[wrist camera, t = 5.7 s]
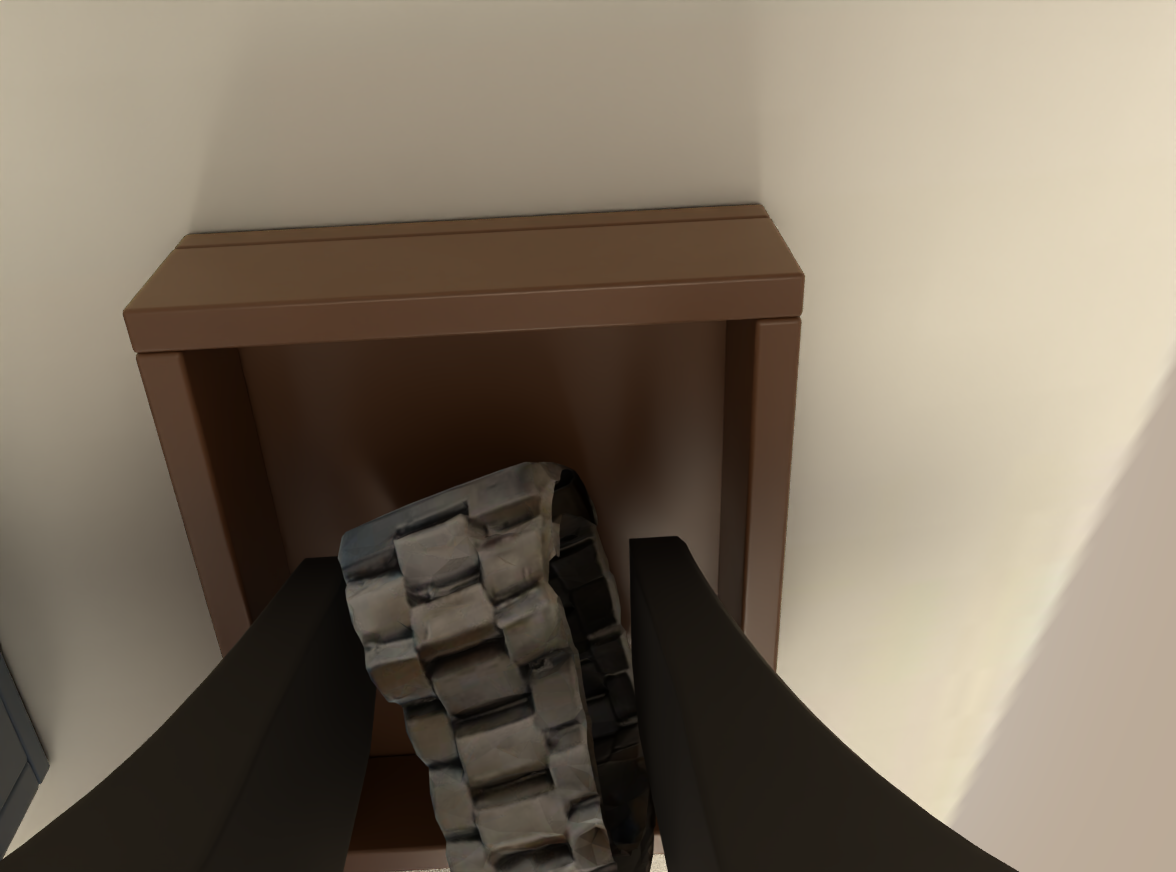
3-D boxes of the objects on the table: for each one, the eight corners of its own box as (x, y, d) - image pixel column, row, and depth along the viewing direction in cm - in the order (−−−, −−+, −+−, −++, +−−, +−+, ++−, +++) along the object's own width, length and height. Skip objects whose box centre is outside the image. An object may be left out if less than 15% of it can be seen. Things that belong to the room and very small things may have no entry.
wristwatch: (623, 491, 16) (530, 440, 11) (683, 845, 15) (610, 961, 10) (433, 528, 16) (268, 495, 12) (480, 871, 15) (320, 992, 11)
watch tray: (737, 731, 17) (763, 848, 15) (313, 758, 17) (285, 880, 15) (763, 202, 13) (806, 273, 11) (184, 233, 13) (118, 311, 11)
